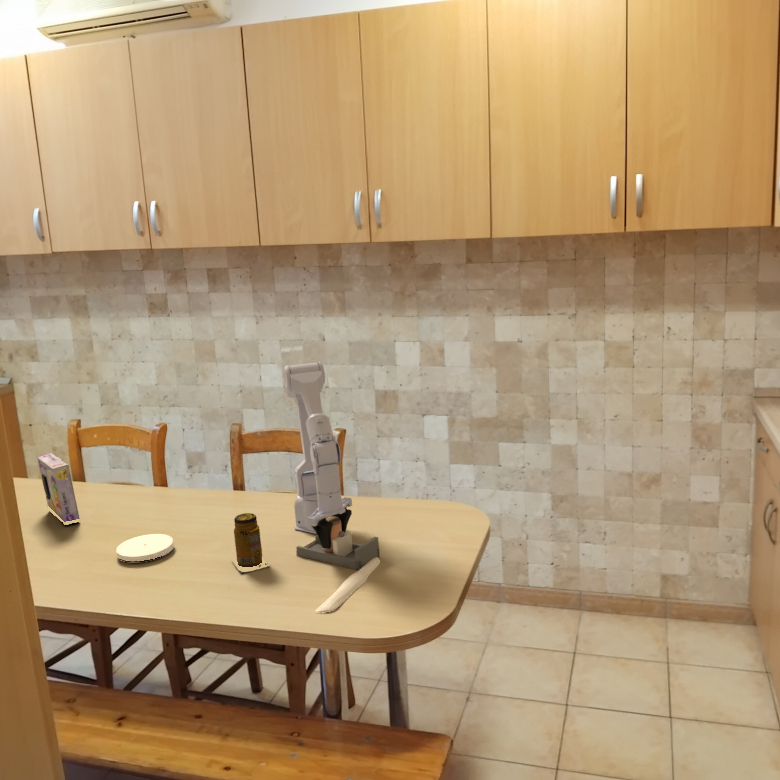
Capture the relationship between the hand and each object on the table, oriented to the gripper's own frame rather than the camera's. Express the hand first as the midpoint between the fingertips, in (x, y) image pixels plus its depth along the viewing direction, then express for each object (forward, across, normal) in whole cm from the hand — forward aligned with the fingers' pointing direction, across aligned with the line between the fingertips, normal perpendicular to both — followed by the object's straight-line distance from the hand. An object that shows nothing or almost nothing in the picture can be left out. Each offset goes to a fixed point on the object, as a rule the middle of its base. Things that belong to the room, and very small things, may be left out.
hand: (333, 543), depth 192 cm
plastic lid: (+4, -20, +45) cm, 50 cm away
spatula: (+4, -10, -13) cm, 17 cm away
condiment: (+3, -13, +16) cm, 21 cm away
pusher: (+3, 0, -3) cm, 4 cm away
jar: (+3, 0, 0) cm, 3 cm away
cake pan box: (+3, -14, +90) cm, 91 cm away
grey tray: (+3, 0, -1) cm, 3 cm away
